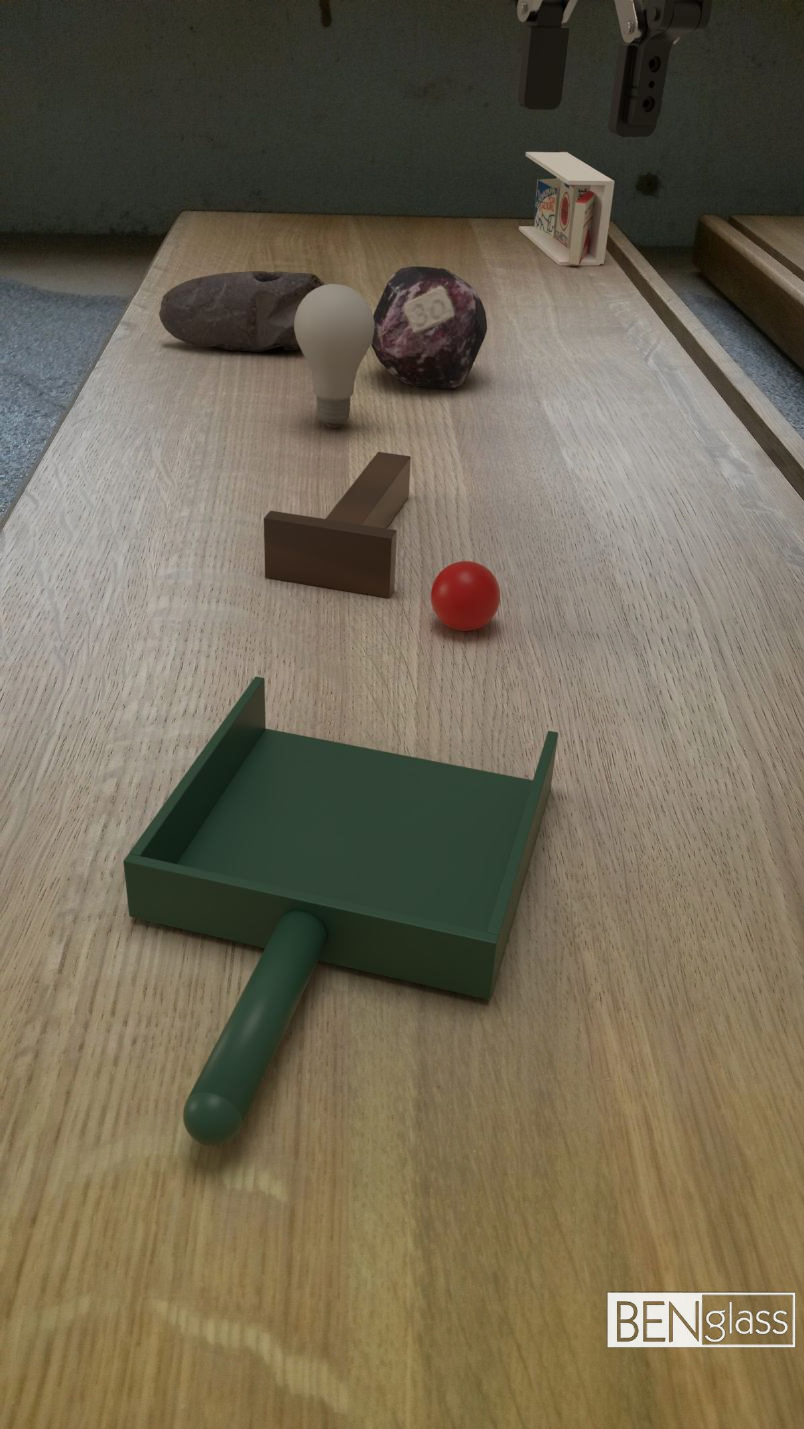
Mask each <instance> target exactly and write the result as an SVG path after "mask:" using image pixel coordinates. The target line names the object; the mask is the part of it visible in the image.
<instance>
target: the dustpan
mask: <svg viewBox="0 0 804 1429" xmlns="http://www.w3.org/2000/svg"><path fill="white" fill-rule="evenodd" d="M265 684H266V683H265V678H264V677H262V676H254V677H253V679H252V681H251V682H250V683H249V685H248V686H247V687H246V689H245V691H244V692H243V693H242V694H241V696H240V697H239V698H238V700H237V701H236V703H235V704H234V705H233V707H232V709H230V711H229V712H228V714H227V715H226V717H225V718H224V720H223V721H222V722H221V724H220V725H219V727H218V728H217V729H216V731H215V732H214V734H213V735H212V736H211V738H210V739H209V740H208V742H207V743H206V744H205V746H204V747H203V749H202V750H201V752H199V753H198V756H197V757H196V759H195V760H194V761H193V762H192V764H191V765H190V767H189V769H188V770H187V771H186V773H185V774H184V775H183V776H182V778H181V780H180V781H179V782H178V783H177V785H176V787H175V788H174V789H173V791H172V792H171V794H170V795H169V796H168V797H167V799H166V800H165V802H164V803H163V804H162V806H161V807H160V809H159V810H158V812H157V813H156V815H155V816H154V817H153V818H152V820H151V821H150V823H149V824H148V826H147V827H146V828H145V830H144V831H143V833H142V834H141V835H140V837H139V838H138V839H137V841H136V842H135V844H134V845H133V846H132V848H131V849H130V851H129V852H128V854H127V855H126V856H125V858H123V871H124V880H125V889H126V890H125V891H126V899H127V907H128V916H129V918H134V919H137V920H143V921H146V922H149V923H150V922H151V923H155V924H160V925H164V926H168V927H172V928H177V929H181V930H187V931H190V932H195V933H199V934H203V935H207V936H211V937H216V938H221V939H224V940H227V941H228V940H229V941H233V942H238V943H242V944H246V945H250V946H255V947H258V948H263V949H264V950H263V952H262V954H261V956H260V958H259V960H258V961H257V964H256V965H255V967H254V969H253V970H252V973H251V975H250V978H249V979H248V981H247V983H246V985H245V986H244V989H243V990H242V992H241V994H240V996H239V998H238V1000H237V1002H236V1004H235V1006H234V1008H233V1010H232V1012H231V1014H230V1015H229V1018H228V1020H227V1021H226V1023H225V1025H224V1027H223V1029H222V1031H221V1033H220V1035H219V1037H218V1039H217V1041H216V1043H215V1044H214V1046H213V1049H212V1050H211V1051H210V1052H211V1053H210V1054H209V1056H208V1057H207V1060H206V1062H205V1063H204V1065H203V1067H202V1069H201V1072H200V1074H199V1075H198V1077H197V1080H196V1081H195V1083H194V1085H193V1087H192V1088H191V1091H190V1092H189V1095H188V1097H187V1098H186V1100H185V1104H184V1107H183V1112H182V1120H183V1125H184V1128H185V1130H186V1132H187V1133H188V1135H189V1136H190V1137H191V1138H192V1139H193V1140H194V1141H195V1142H197V1143H198V1144H201V1145H203V1146H207V1147H217V1146H221V1145H224V1144H226V1143H228V1142H230V1141H232V1140H233V1139H234V1138H235V1136H237V1135H238V1134H239V1132H240V1130H241V1129H242V1128H243V1124H244V1123H245V1122H246V1121H245V1120H246V1118H247V1117H248V1114H249V1112H250V1109H251V1108H252V1105H253V1103H254V1101H255V1100H256V1096H257V1094H258V1093H259V1090H260V1088H261V1086H262V1083H263V1082H264V1079H265V1077H266V1075H267V1073H268V1070H269V1068H270V1067H271V1064H272V1062H273V1060H274V1058H275V1056H276V1053H277V1051H278V1049H279V1047H280V1045H281V1042H282V1040H283V1037H284V1036H285V1033H286V1031H287V1030H288V1027H289V1026H290V1022H291V1021H292V1018H293V1016H294V1014H295V1012H296V1009H297V1008H298V1006H299V1004H300V1001H301V999H302V997H303V995H304V992H305V990H306V988H307V986H308V984H309V981H310V979H311V977H312V975H313V973H314V970H315V968H316V966H317V964H318V962H319V961H320V962H325V963H328V964H333V965H337V966H342V967H345V968H350V969H354V970H359V971H363V972H368V973H372V974H375V975H381V976H385V977H389V978H393V979H398V980H401V981H402V980H403V981H405V982H411V983H415V984H419V985H424V986H428V987H433V988H435V989H441V990H445V991H450V992H453V993H458V994H463V995H467V996H471V997H475V998H479V999H484V1000H489V1001H490V1000H491V998H492V997H493V994H494V990H495V987H496V984H497V981H498V978H499V977H498V976H499V974H500V969H501V967H502V963H503V959H504V955H505V953H506V952H505V951H506V948H507V944H508V941H509V938H510V934H511V931H512V927H513V923H514V920H515V917H516V912H517V909H518V905H519V902H520V899H521V896H522V892H523V888H524V885H525V882H526V879H527V878H526V877H527V874H528V871H529V867H530V864H531V860H532V857H533V853H534V849H535V846H536V842H537V838H538V835H539V832H540V828H541V824H542V821H543V818H544V814H545V810H546V807H547V804H548V800H549V796H550V793H551V790H552V781H553V777H554V776H553V775H554V768H555V763H556V762H555V761H556V755H557V747H558V739H559V732H558V731H552V730H547V733H546V736H545V740H544V742H543V746H542V748H541V753H540V756H539V759H538V761H537V765H536V769H535V772H534V776H533V779H529V778H523V777H518V776H513V775H507V774H504V773H498V772H493V771H487V770H482V769H477V768H473V767H472V768H471V767H466V766H463V765H462V766H461V765H456V764H452V763H446V762H441V761H436V760H430V759H424V758H420V757H415V756H409V755H405V754H399V753H395V752H389V751H384V750H379V749H375V748H374V749H373V748H368V747H363V746H358V745H353V744H348V743H342V742H337V741H332V740H327V739H323V738H317V737H312V736H307V735H303V734H302V735H301V734H296V733H291V732H286V731H282V730H281V731H280V730H275V729H271V728H267V726H266V725H267V724H266V685H265Z"/></svg>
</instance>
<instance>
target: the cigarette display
mask: <svg viewBox="0 0 804 1429" xmlns="http://www.w3.org/2000/svg"><path fill="white" fill-rule="evenodd" d="M525 157H526V158H527V159H528V158H529V159H530V160H531V161H533V162H534V163H535V164H537V165H538V166H539V167H542V168H543V169H544V170H546V171H547V172H549V173H550V174H551V175H553V176H554V177H556V178H541V179H537V180H536V192H535V193H536V194H535V203H534V204H535V206H534V216H533V217H534V221H533V226H532V225H530V226H529V225H527V226H525V225H523V226H521V225H519V226H518V231H519V232H521V233H522V235H524V236H525V237H526V238H527V239H529V241H531V242H532V244H534V245H535V246H536V247H537V248H538V249H540V251H542V252H543V253H544V254H545V255H547V257H549V258H550V259H551V260H552V261H553V262H554V263H556V264H557V265H558V266H559V267H561V266H562V267H563V266H565V267H566V266H567V267H568V266H573V267H575V266H577V267H578V266H583V267H584V266H600V265H604V264H605V258H606V252H607V250H606V249H607V243H608V235H609V226H610V220H611V212H612V204H613V197H614V196H613V195H614V189H615V188H614V187H615V180H613V179H612V178H610V177H609V176H606V175H605V174H603V173H602V172H600V171H599V170H596V169H595V168H593V167H592V166H590V165H589V164H587V163H585V162H584V161H582V160H581V159H579V158H578V157H576V156H574V155H572V154H570V153H569V152H568V151H559V152H555V151H554V152H553V151H551V152H549V151H525Z"/></svg>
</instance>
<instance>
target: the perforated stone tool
mask: <svg viewBox="0 0 804 1429" xmlns="http://www.w3.org/2000/svg"><path fill="white" fill-rule="evenodd" d="M323 285H325V282H324V281H323V280H321V279H320V278H319V276H318V275H316V274H314V273H309V272H308V273H306V272H291V271H290V272H289V271H273V272H272V271H270V272H269V271H266V270H249V271H232V272H223V273H215V274H211V275H203V276H200V277H196V278H193V279H189V280H186V281H184V282H181V283H179V284H178V285H176V286H174V287H172V288H171V289H169V290H168V291H166V293H165V294H164V295H162V300H161V301H160V309H159V312H158V316H159V319H160V323H161V325H162V326H163V328H164V329H165V330H166V331H167V333H169V334H170V335H171V336H172V337H173V338H175V339H177V340H179V341H182V342H184V343H186V344H189V345H192V346H196V347H212V346H213V347H218V348H220V349H223V350H228V351H240V352H242V351H243V352H244V351H245V352H255V353H256V352H258V353H260V352H265V351H267V350H272V349H275V348H277V347H278V348H279V347H282V348H283V350H284V351H295V350H301V348H300V346H299V344H298V342H297V339H296V335H295V331H294V320H295V315H296V312H297V309H298V306H299V305H300V303H301V301H302V300H303V299H304V298H305V297H306V295H307V294H308V293H310V292H311V291H313V290H314V289H316V288H318V287H320V286H323Z"/></svg>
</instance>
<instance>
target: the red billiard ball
mask: <svg viewBox="0 0 804 1429" xmlns="http://www.w3.org/2000/svg"><path fill="white" fill-rule="evenodd" d="M430 601H431V605H432V610H433V612H434V613H435V615H436V617H437V618H438V619H439V620H440V621H441V622H442V623H443V624H444V625H446V626H447V627H449V628H451V629H454V630H457V631H461V632H469V631H474V630H475V631H476V630H478V629H480V628H482V627H485V626H486V625H487V624H488V623H490V621H491V620H492V619H493V618H494V617H495V615H496V614H497V612H498V610H499V607H500V604H501V589H500V585H499V581H498V580H497V578H496V576H495V575H494V574H493V573H492V571H491V570H490V569H489V568H487V566H485V565H482V564H481V563H479V562H475V561H470V560H462V561H461V560H460V561H456V562H454V563H453V562H452V563H451V564H449V565H447V566H446V567H444V568H443V569H442V570H441V571H440V572H439V573H438V574H437V576H436V577H435V579H434V581H433V583H432V586H431V591H430Z"/></svg>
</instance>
